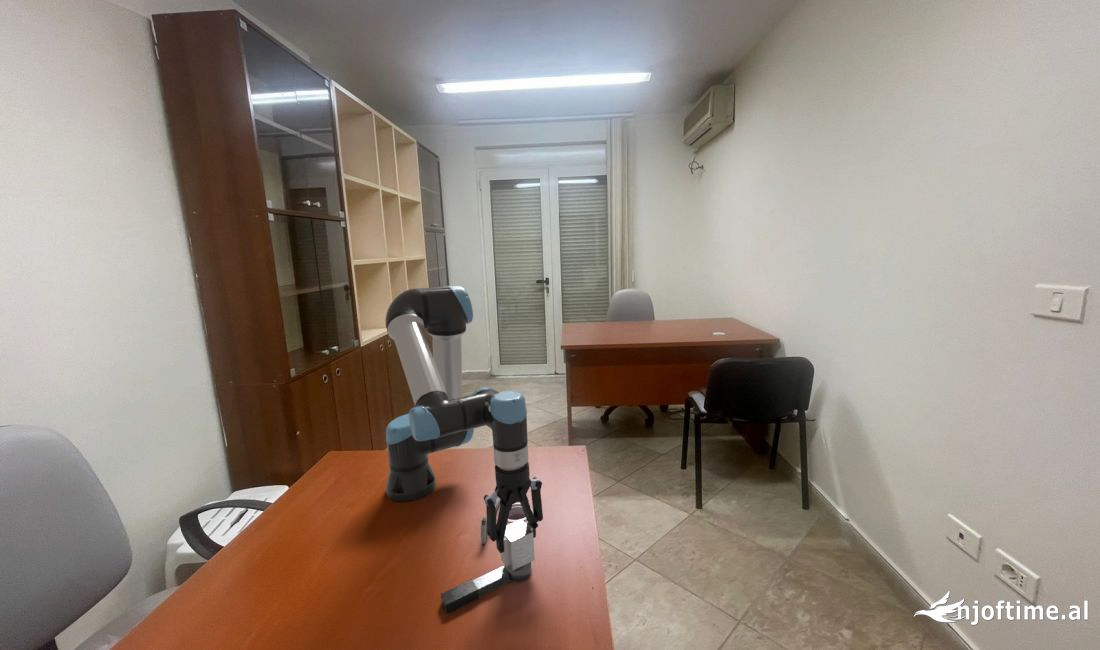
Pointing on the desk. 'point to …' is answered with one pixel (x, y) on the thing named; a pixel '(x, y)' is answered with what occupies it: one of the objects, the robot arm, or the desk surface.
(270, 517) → the desk surface
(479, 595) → the ratchet
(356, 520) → the desk surface
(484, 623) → the desk surface
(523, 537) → the plain grey cube
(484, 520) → the caliper
